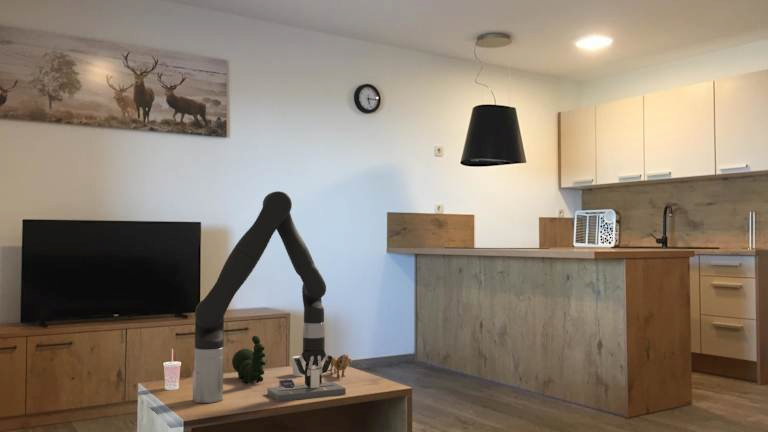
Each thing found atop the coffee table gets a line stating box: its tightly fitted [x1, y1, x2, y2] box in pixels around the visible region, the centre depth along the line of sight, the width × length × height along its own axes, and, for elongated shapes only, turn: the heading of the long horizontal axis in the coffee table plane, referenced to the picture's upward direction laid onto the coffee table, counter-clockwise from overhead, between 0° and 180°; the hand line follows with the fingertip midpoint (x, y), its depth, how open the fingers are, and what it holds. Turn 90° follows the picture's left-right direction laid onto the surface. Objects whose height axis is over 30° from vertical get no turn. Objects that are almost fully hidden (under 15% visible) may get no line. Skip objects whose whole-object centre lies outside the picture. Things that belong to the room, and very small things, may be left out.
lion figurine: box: [327, 354, 353, 379], centre depth 260 cm, size 15×5×9 cm, turn 36°
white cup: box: [291, 355, 306, 377], centre depth 261 cm, size 7×7×7 cm
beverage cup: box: [163, 348, 182, 391], centre depth 236 cm, size 6×6×14 cm
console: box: [266, 381, 347, 403], centre depth 228 cm, size 24×12×2 cm, turn 117°
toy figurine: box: [231, 335, 266, 384], centre depth 250 cm, size 9×19×25 cm
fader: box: [310, 367, 320, 388], centre depth 229 cm, size 3×4×8 cm
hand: (313, 385), depth 229 cm, fingers closed on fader, 3 cm apart
